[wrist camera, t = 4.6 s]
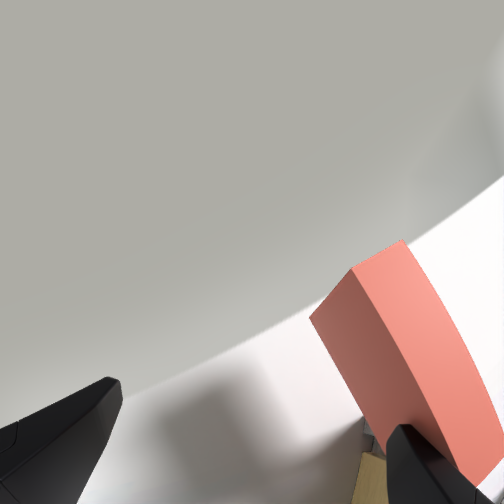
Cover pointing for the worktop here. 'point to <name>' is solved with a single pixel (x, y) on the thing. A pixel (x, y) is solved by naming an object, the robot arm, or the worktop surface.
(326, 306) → the lever
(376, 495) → the valve body
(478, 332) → the worktop surface
